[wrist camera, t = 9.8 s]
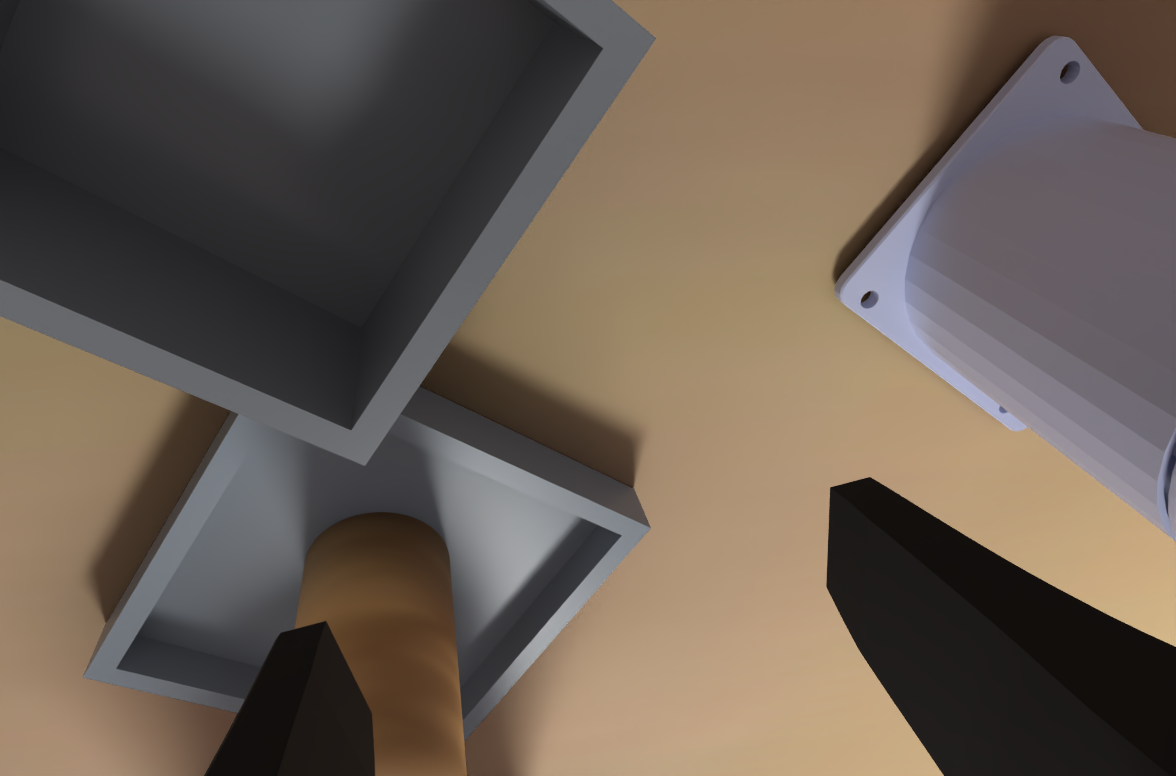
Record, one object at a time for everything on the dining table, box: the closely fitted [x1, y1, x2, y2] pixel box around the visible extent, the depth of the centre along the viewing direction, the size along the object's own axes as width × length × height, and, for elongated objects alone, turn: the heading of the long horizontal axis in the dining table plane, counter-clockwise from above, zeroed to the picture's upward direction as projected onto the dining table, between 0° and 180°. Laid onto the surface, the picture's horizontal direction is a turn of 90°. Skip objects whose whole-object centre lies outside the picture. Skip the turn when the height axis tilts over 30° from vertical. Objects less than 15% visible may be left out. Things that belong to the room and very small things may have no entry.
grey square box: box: [0, 0, 656, 466], centre depth 13 cm, size 9×9×5 cm
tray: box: [83, 386, 651, 741], centre depth 21 cm, size 11×11×2 cm
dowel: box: [295, 512, 467, 776], centre depth 18 cm, size 4×4×7 cm
